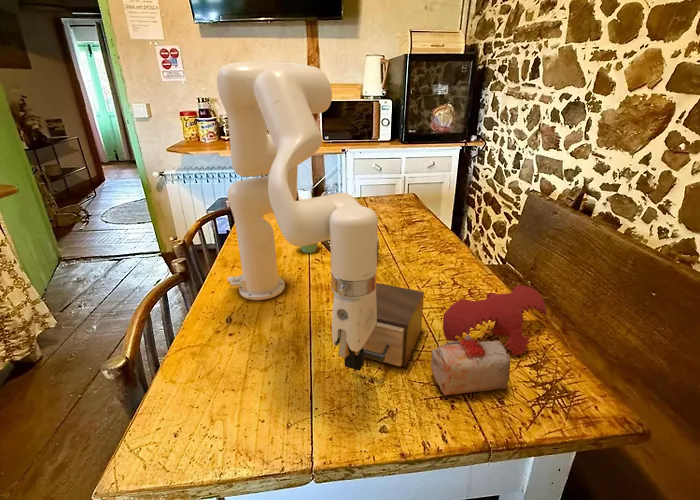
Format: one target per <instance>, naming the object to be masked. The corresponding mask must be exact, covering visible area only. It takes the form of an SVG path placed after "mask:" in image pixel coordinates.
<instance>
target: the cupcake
mask: <svg viewBox="0 0 700 500" xmlns="http://www.w3.org/2000/svg"><path fill="white" fill-rule="evenodd" d="M319 243H320V242H318V243H314V244H311V245H306V246H300V248H301V251H302V252H304V253H305V254H306V253H307V254H311V253H314V252H316V251H317V247H318V245H319Z"/></svg>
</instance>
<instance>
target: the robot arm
mask: <svg viewBox="0 0 700 500" xmlns="http://www.w3.org/2000/svg"><path fill="white" fill-rule="evenodd" d="M216 87H217V93H218V96H219V99H220V101H221V103H222V107H223V108H224V112H225V114H226V116H227V117H226V118H227V123H228V135H229V147H230V159H231V165H232V169H233V171H234V173H235V174H236V175H238V176H240V177H241V178H244V179H240V180H237V181H235V182H234V183H232V184H230V186H229V187H228V189H227V193H226V194H227V195H226V196H227V201H228V204H229V208H230V211H231V214H232V217H233V221H234V225H235V226H234V227H235V231H236V239H237V244H238V250H239V257H240V265H241V271H242V274H239V276H228V277H227V284H228V285H229V284H230V287H231V288H235V287H236V288H237V287H239V288H238V291H239V295H240V296H241V297H242V298H244V299H247V300H251V301H265V300H269V299H273V298H275V297H277V296H279V295H280V294H282V293H283V292H284V290H285V285H286V284H285V281H284V279H282V278H281V277H279V270H278V259H277V251H276V241H275V232H274V228H273V226H272V225H271V224H270V223H269V222H268V221H267V220H266V219H265V218H264V217H263V216H265V215H268V214H271V213H273V215H274V218H275V221H276V223H277V225H278V228H279V230H280V232H281V234H282V236H283V237H284V240H285V241H287V243H288V244H290V245H292V246H294V247H301V246H306V245H311V244H314V243H318V242H319V243H322V242H326V241H329V245H330V249H329V250H330V277H331V278H330V279H331V280H330V281H331V283H330V284H331V292H332V293H333V302H332V314H331V315H332V318H331V337H332V344H333V346H334V347H337V346H338V357H339V358H340V357H341V358H343V360H344V362H343V363H344V367H345V368H349V369H351V370H355V371H361V370H362V368H363V366H364V365H365V364H364V362H365V359H364V358H365V357H364V349H363V347H364V344H365V342H366V341H367V339H368V338H369V336H370V334H371V333H372V331H373V329H374V328H375V326H376V323H377V301H376V283H377V279H378V278H377V276H378V275H377V273H378V272H377V271H378V259H377V238H378V237H379V236H378V234H379V233H378V232H379V231H378V229H379V219H378V215H377V213H376V212H375V210H373V209H372V208H370V207H367V206H363V205H362V204H360V203H359V201H358V200H357V199H356V198H355V197H354V196H353V195H351V194H350V193H347V192H336V193H331V194H326V195H319V196H314V197H311V198H304V199H300V200H297V197H298V170H299V169H298V168H299V167H298V166H299V165H301V164H302V163H303V162H305V161H307V160H308V159H310V158H311V157H313V156H314V155H315V154H317V152H318V151H319V149H320V148H321V146H322V143H323V136H322V133H321V131H320V129H319V126H318V124H317V121H316V119H315V116H314V115H313V114H322V113H324V112H326V111H327V110H328V109H329V108H330V106H331V103H332V99H333V90H332V86H331V82H330V80H329V78H328V77H327V75H326V74H325V72H324V71H323V70H321V69H320V68H319V67H316V66H313V65H308V64H303V63H299V62H290V61H239V62H238V61H237V62H231V63H226V64H224V65H222V66H221V67H220V68H219V70H218V72H217V77H216ZM319 243H318V244H319Z"/></svg>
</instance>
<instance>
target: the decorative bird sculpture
mask: <svg viewBox="0 0 700 500" xmlns="http://www.w3.org/2000/svg"><path fill="white" fill-rule="evenodd" d="M529 309H530V310H531V311H532V312H534V309H535V310H536V311H538V312H539V311H540V312H541V314H544V316H545V317H546V316H547V312H548V311H547V307H546V303H545V301H544V299H543V297H542V295H541V294H540V293H539V292H538V291H537V290H536V289H534V288H532V287H530V286H527V285H521V284H518V285H515V286H514V287H513V290H512V291H511V292H509V293H493V292H489V293H486V298H485V299H482V300H477V301H476V300H469V299H465V298H460V299H459V300H457V301H456V302H454V303H452V304H451V305H450V306H449V308H447V310H446V311H445V312H444V314H443V316H442V321H443V322H442V331H443V334H444V338H445V340H446V341H449V342H456V341H457V337H458V338H463V333H465V334H466V335H468V334H469V335H470V333H471V329H473V330H477V324H478V325H479V326H484V323H486V324H489V320H490V322H491V323H494V324H493V327H492V328H491V330H489V329H485V330H484V331H483V332H484V333H486V334H487V337H489V336H490V334H492V335H497V336H501V337H505V336H506V338H507V341H506V342H505V343H504V344H503V346H504V347H506V351H507V350H508V351H509V350H510V354H512V357H516V356H519V357H520V358H521V357H522V356H523V355H522V354H526V350H527V349H529V347H528V344H530V343H531V342H530V341H529V339H530V336H525V335H524V334H523V324H524V314H525V312H527V313H529V312H530V310H529ZM525 349H526V350H525Z"/></svg>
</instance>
